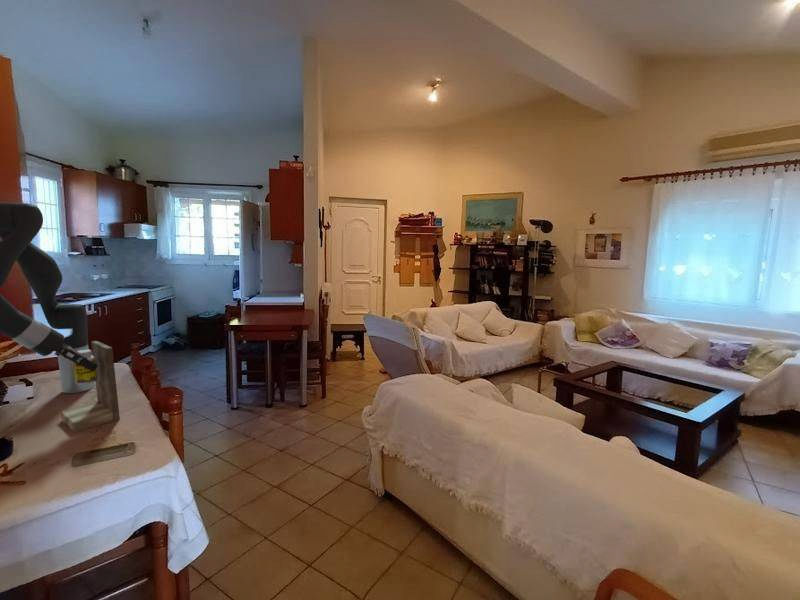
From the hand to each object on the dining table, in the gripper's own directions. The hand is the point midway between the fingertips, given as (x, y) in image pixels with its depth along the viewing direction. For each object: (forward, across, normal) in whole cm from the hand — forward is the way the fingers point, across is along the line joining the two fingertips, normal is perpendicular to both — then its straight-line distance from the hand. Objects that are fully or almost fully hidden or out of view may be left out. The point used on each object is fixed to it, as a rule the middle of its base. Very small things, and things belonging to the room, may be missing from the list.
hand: (91, 366), depth 128 cm
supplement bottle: (+2, 0, +5) cm, 5 cm away
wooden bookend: (+10, 0, +14) cm, 18 cm away
